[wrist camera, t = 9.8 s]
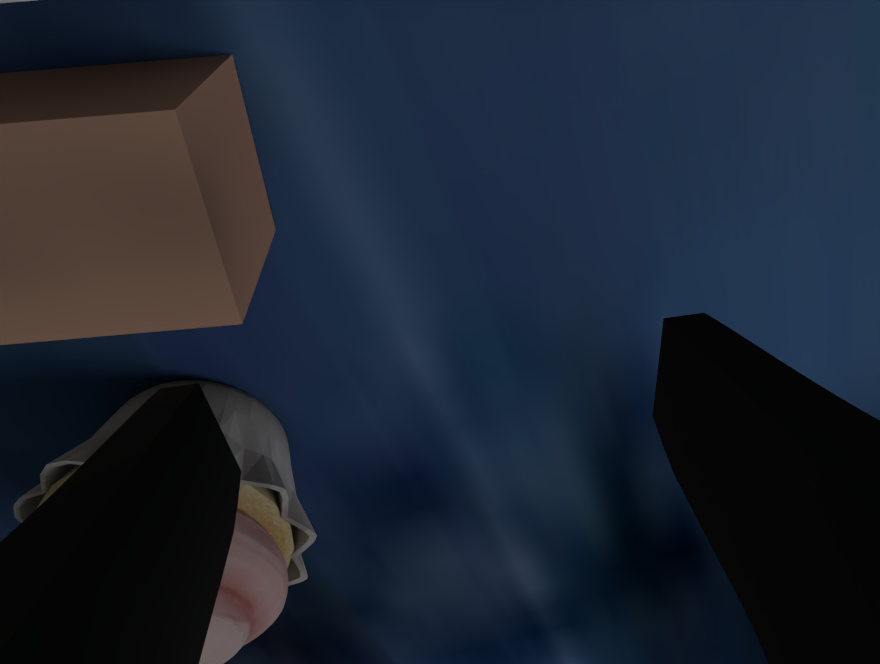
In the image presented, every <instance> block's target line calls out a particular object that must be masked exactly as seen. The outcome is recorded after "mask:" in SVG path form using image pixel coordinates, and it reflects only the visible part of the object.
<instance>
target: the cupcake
mask: <svg viewBox="0 0 880 664" xmlns="http://www.w3.org/2000/svg"><path fill="white" fill-rule="evenodd" d="M196 383H199V384H200V386H201V389H202V391H203V393H204V395H205V397H206V399H207V401H208V403H209V405H210V407H211V409H212V411H213V413H214V415H215V418H216V420H217V422H218V424H219V426H220V428H221V430H222V432H223V434H224V436H225V438H226V440H227V442H228V444H229V447H230V449H231V451H232V453H233V455H234V457H235V459H236V461H237V463H238V465H239V467H240V469H241V480H240V489H239V498H238V506H237V513H236V520H235V527H234V533H233V537H232V541H231V545H230V549H229V553H228V557H227V561H226V564H225V568H224V572H223V576H222V580H221V584H220V587H219V591H218V595H217V598H216V602H215V606H214V609H213V613H212V617H211V621H210V624H209V628H208V632H207V635H206V639H205V643H204V647H203V650H202V654H201V658H200V662H199V664H223V663H225V662H226V661H228V660H229V659H230V658H232V657H233V656H234V655H235V654H236V653H237V652H238V651H239V650H240V648H241V647H242V646H243V645H245V644H247V643H249V642H250V641H252V640H253V639H255V638H256V637H258V636H259V635H260V634H261V633H263V632H264V631H265V630H266V629H267V628H268V627H269V626H270V625H271V624H272V623H273V622H274V621H275V620H276V619H277V617H278V616H279V614H280V613H281V611H282V609H283V607H284V604H285V600H286V597H287V591H288V586H289V585H293V584H296V583H300V582H302V581H304V580H306V579H307V571H306V568H305V565H304V562H303V559H302V556H301V553H302V552H303V551H304V550H306V549H307V548H308V547H309V546H310V545H311V544H312V543H314V541H315V539H316V537H317V535H316V533H315V531H314V529H313V527H312V525H311V523H310V521H309V520H308V518H307V516H306V514H305V512H304V510H303V508H302V506H301V504H300V502H299V500H298V498H297V496H296V491H295V486H294V480H293V475H292V469H291V463H290V454H289V445H288V440H287V437H286V434H285V432H284V430H283V427H282V425H281V424H280V422H279V420H278V419H277V418H276V417H275V416H274V414H273V413H272V412H271V411H270V410H269V409H268V408H267V407H266V406H264V405H263V404H262V403H261V402H260V401H258V400H257V399H255V398H254V397H253V396H251V395H249V394H247V393H245V392H243V391H240V390H238V389H235V388H233V387H230V386H227V385H223V384H220V383H215V382H211V381H203V380H181V381H172V382H166V383H162V384H159V385H157V386H154V387H152V388H150V389H147V390H145V391H143V392H141V393H139V394H137V395H136V396H134V397H133V398H131V399H130V400H129V401H128V402H126V403H125V404H124V405H123V406H122V407H121V408H120V409H119V410H118V411H117V412H116V413H115V414H114V415H113V416H112V417H111V418H110V419H109V420H108V421H107V422H106V423H105V424H104V425H103V426H102V427H101V428H100V429H99V430H98V431H97V432H96V433H95V434H94V435H93V436H92V438H90V439H88V440H87V441H85V442H83V443H82V444H80V445H78V446H77V447H75V448H73V449H72V450H70V451H68V452H67V453H65V454H63V455H62V456H60V457H58V458H57V459H55V460H53V461H51V462H50V463H48V464H47V465H46V466H45V468H44V469H43V471H42V472H41V473H40V481H41V483H40V484H39V485H37V486H36V487H34V488H33V489H31V490H30V491H28V492H27V493H26V494H24V495H23V496H21V497H20V498H19V499H18V500H17V502H16V503H15V504H14V506H13V509H14V516H15V518H16V519H17V520H18V521H19V522H20V523H22V522H23V521H24V520H25V519H26V518H27V517H28V516H29V515H30V514H32V513H33V512H34V511H35V510H36V509H37V508H38V507H39V506H40V505H41V504H42V503H43V502H45V501H46V500H47V499H48V498H49V497H50V496H51V495H52V494H53V493H54V492H55V491H56V490H57V489H58V488H59V487H60V486H61V485H62V484H63V483H64V482H65V481H66V480H67V479H68V478H69V477H70V476H71V475H72V474H73V473H74V472H75V471H76V470H77V469H78V468H79V467H80V466H81V465H82V464H83V463H84V462H85V461H86V460H87V459H88V458H89V457H90V456H91V455H92V454H93V453H94V452H95V451H96V450H97V449H98V448H99V447H100V446H101V445H102V444H103V443H104V442H105V441H106V440H107V439H108V438H109V437H110V436H111V435H112V434H113V433H114V432H115V431H116V430H117V429H118V428H119V427H120V426H121V425H122V424H123V423H124V422H125V421H126V420H127V419H128V418H129V417H130V416H131V415H132V414H133V413H134V412H136V411H137V410H138V409H139V408H140V407H141V406H142V405H143V404H144V403H145V402H146V401H147V400H148V399H149V398H150V397H151V396H153V395H154V394H155V393H156V392H157V391H158V390H159V389H160V388H167V387H174V386H181V385H188V384H196Z"/></svg>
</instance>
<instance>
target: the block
mask: <svg viewBox="0 0 880 664" xmlns="http://www.w3.org/2000/svg"><path fill="white" fill-rule="evenodd" d="M23 1H36V0H0V3H10V2H23Z"/></svg>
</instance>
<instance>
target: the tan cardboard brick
mask: <svg viewBox="0 0 880 664" xmlns="http://www.w3.org/2000/svg"><path fill="white" fill-rule="evenodd" d="M275 231H276V230H275V226H274V222H273V218H272V214H271V210H270V206H269V201H268V197H267V193H266V189H265V185H264V181H263V177H262V173H261V169H260V165H259V161H258V157H257V153H256V149H255V145H254V141H253V137H252V132H251V128H250V124H249V120H248V116H247V112H246V108H245V104H244V100H243V96H242V92H241V88H240V84H239V80H238V76H237V72H236V68H235V63H234V59H233V55H232V54H231V55H219V56H206V57H194V58H182V59H169V60H157V61H144V62H132V63H120V64H107V65H95V66H82V67H70V68H58V69H45V70H33V71H21V72H8V73H0V345H7V344H18V343H30V342H41V341H53V340H64V339H76V338H88V337H99V336H111V335H122V334H134V333H145V332H157V331H168V330H180V329H191V328H203V327H215V326H226V325H238V324H242V323H243V320H244V318H245V315H246V312H247V309H248V306H249V304H250V301H251V298H252V295H253V292H254V290H255V287H256V284H257V281H258V278H259V276H260V273H261V270H262V267H263V264H264V262H265V259H266V256H267V253H268V250H269V248H270V245H271V242H272V239H273V236H274V234H275Z"/></svg>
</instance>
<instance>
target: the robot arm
mask: <svg viewBox="0 0 880 664" xmlns="http://www.w3.org/2000/svg"><path fill="white" fill-rule="evenodd" d="M653 418H654V421H655V424H656V427H657V429H658V432H659V435H660V438H661V441H662V444H663V446H664V449H665V452H666V454H667V457H668V460H669V462H670V465H671V467H672V470H673V473H674V475H675V477H676V479H677V481H678V483H679V485H680V487H681V489H682V491H683V492H684V494H685V496H686V498H687V500H688V502H689V504H690V506H691V508H692V510H693V512H694V514H695V516H696V518H697V520H698V521H699V523H700V525H701V527H702V529H703V531H704V533H705V535H706V537H707V539H708V541H709V542H710V544H711V546H712V548H713V550H714V552H715V554H716V556H717V558H718V560H719V561H720V563H721V565H722V567H723V569H724V571H725V573H726V575H727V577H728V579H729V581H730V582H731V584H732V586H733V588H734V590H735V592H736V594H737V596H738V598H739V600H740V601H741V603H742V605H743V607H744V609H745V612H746V614H747V616H748V618H749V620H750V622H751V624H752V626H753V628H754V630H755V633H756V635H757V637H758V639H759V641H760V644H761V646H762V649H763V651H764V654H765V656H766V658H767V661H768V663H769V664H880V421H879V420H878V419H876V418H874V417H872V416H870V415H869V414H867V413H865V412H863V411H862V410H860V409H858V408H857V407H855V406H853V405H851V404H850V403H848V402H846V401H845V400H843V399H841V398H840V397H838V396H836V395H835V394H833V393H831V392H830V391H828V390H826V389H825V388H823V387H821V386H820V385H818V384H816V383H815V382H813V381H812V380H810V379H808V378H807V377H805V376H804V375H802V374H800V373H799V372H797V371H796V370H794V369H792V368H791V367H789V366H788V365H786V364H784V363H783V362H781V361H780V360H778V359H777V358H775V357H774V356H772V355H770V354H769V353H767V352H766V351H764V350H763V349H761V348H760V347H758V346H756V345H755V344H753V343H752V342H750V341H749V340H747V339H746V338H744V337H742V336H741V335H739V334H738V333H736V332H735V331H733V330H732V329H730V328H728V327H727V326H725V325H724V324H722V323H720V322H719V321H717V320H715V319H714V318H712V317H710V316H709V315H707V314H705V313H699V314H692V315H685V316H678V317H671V318H664V321H663V329H662V338H661V347H660V356H659V365H658V374H657V382H656V391H655V400H654V409H653ZM240 480H241V469H240V467H239V465H238V463H237V461H236V459H235V457H234V455H233V453H232V451H231V449H230V447H229V444H228V442H227V440H226V438H225V436H224V434H223V432H222V430H221V428H220V426H219V424H218V422H217V420H216V418H215V415H214V413H213V411H212V409H211V407H210V405H209V403H208V401H207V399H206V397H205V395H204V393H203V391H202V389H201V386H200V384H199V383H196V384H188V385H181V386H174V387H167V388H160V389H159V390H158V391H157V392H156V393H155V394H154V395H153V396H151V397H150V398H149V399H148V400H147V401H146V402H145V403H144V404H143V405H142V406H141V407H140V408H139V409H138V410H137V411H136V412H134V413H133V414H132V415H131V416H130V417H129V418H128V419H127V420H126V421H125V422H124V423H123V424H122V425H121V426H120V427H119V428H118V429H117V430H116V431H115V432H114V433H113V434H112V435H111V436H110V437H109V438H108V439H107V440H106V441H105V442H104V443H103V444H102V445H101V446H100V447H99V448H98V449H97V450H96V451H95V452H94V453H93V454H92V455H91V456H90V457H89V458H88V459H87V460H86V461H85V462H84V463H83V464H82V465H81V466H80V467H79V468H78V469H77V470H76V471H75V472H74V473H73V474H72V475H71V476H70V477H69V478H68V479H67V480H66V481H65V482H64V483H63V484H62V485H61V486H60V487H59V488H58V489H57V490H56V491H55V492H54V493H53V494H52V495H51V496H50V497H49V498H48V499H47V500H46V501H45V502H43V503H42V504H41V505H40V506H39V507H38V508H37V509H36V510H35V511H34V512H33V513H32V514H30V515H29V516H28V517H27V518H26V519H25V520H24V521H23V522H22V523H21V524H20V525H19V526H17V527H16V528H15V529H14V530H13V531H12V532H11V533H10V534H9V535H8V536H7V537H6V538H5V539H3V540H2V541H1V542H0V664H199V662H200V658H201V654H202V650H203V647H204V643H205V639H206V635H207V632H208V628H209V624H210V621H211V617H212V613H213V609H214V606H215V602H216V598H217V595H218V591H219V587H220V584H221V580H222V576H223V572H224V568H225V564H226V561H227V557H228V553H229V549H230V545H231V541H232V537H233V533H234V527H235V520H236V513H237V506H238V498H239V489H240Z"/></svg>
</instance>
